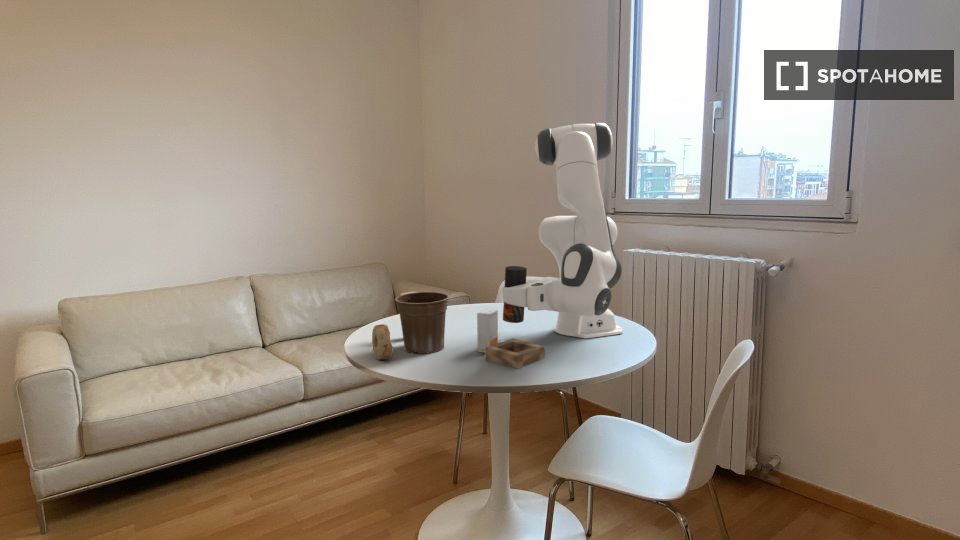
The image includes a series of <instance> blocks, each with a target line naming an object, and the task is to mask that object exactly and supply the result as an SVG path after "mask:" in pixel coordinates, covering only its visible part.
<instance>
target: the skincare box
mask: <svg viewBox="0 0 960 540" xmlns="http://www.w3.org/2000/svg"><path fill="white" fill-rule="evenodd" d="M498 312H499V311H498V310H497V309H489V308H485V309H484V310H481V311H479V312H477V313H476V315H477V316H476V317H477V318H476V319H477V322H476V324H477V325H476V327H477V328H476V329H477V336H476V337H477V338H476V339H477V341H476V342H477V343H476V345H477V346H476V347H477V352H479V353H485V347H488V346H491V345H495V344H498V343H499V341H498V339H499V337H498V335H499V333H498V329H499V328H498V327H499V326H498V325H499V323H498V322H499V320H498V318H499V313H498Z"/></svg>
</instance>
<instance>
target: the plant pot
mask: <svg viewBox="0 0 960 540" xmlns="http://www.w3.org/2000/svg"><path fill="white" fill-rule="evenodd" d="M415 292H416V293H408V294H404V295H401V294H400V295H398V296H396V297H395V298H394V300H395V303H396V305H397V309H398V310H397V311H398V313H399V317H400V324H401V332H402V338H403V345H404V347H403V348H404V350H405V351H406V352H408V353H411V354H414V353H418V354H419V353H420V354H432V352H433V353H436V352H438V351H441V350H442V349H444V347H445V331H446V313H447V310H448V300H449V299H450V295H448V294H446V293H443V292H436V291H415ZM420 354H419V355H420Z"/></svg>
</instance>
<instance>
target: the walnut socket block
mask: <svg viewBox="0 0 960 540" xmlns="http://www.w3.org/2000/svg"><path fill="white" fill-rule="evenodd" d="M545 352H546V351H545V346H544V345H541V344H536V343H532V342H529V341H524V340H520V339H516V338H511V339H507V340H504V341H502V342H501V341H500V342H498V344H495V345H491V346H488V347H485V352H484V353H485V355H484V356H485V357H484V358H485V359H484V360H487V361H491V362H494V363H497V364H501V365H504V366H507V367H512V368H515V369H521V368H522V367H525V366H527V365H530V364H533V363H535V362H538V361H540V360H543V359H545V354H546V353H545Z"/></svg>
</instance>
